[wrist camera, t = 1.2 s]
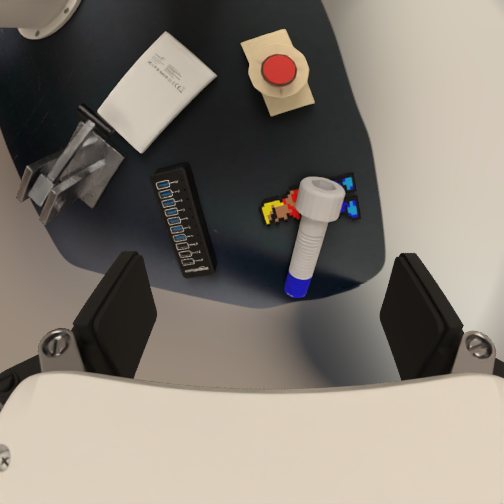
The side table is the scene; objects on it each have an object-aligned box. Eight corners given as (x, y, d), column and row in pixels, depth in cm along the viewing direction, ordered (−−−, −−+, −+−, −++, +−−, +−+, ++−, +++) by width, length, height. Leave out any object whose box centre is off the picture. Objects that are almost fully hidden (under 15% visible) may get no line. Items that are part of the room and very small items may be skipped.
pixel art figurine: (352, 172, 33) (255, 195, 36) (353, 173, 33) (255, 197, 35) (360, 217, 36) (268, 238, 38) (360, 218, 36) (268, 240, 38)
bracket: (85, 119, 31) (25, 139, 21) (128, 155, 34) (76, 186, 23) (58, 171, 35) (3, 205, 24) (96, 205, 37) (48, 248, 27)
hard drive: (102, 109, 30) (169, 32, 26) (145, 151, 33) (218, 76, 29) (95, 111, 29) (164, 30, 24) (140, 154, 32) (215, 75, 27)
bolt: (305, 192, 29) (351, 198, 29) (297, 172, 33) (339, 178, 33) (278, 303, 38) (315, 305, 39) (275, 277, 42) (309, 279, 43)
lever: (87, 106, 26) (80, 100, 24) (117, 131, 27) (112, 126, 25) (28, 187, 26) (19, 187, 24) (57, 213, 27) (49, 215, 25)
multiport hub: (188, 162, 34) (183, 167, 32) (217, 265, 41) (215, 275, 39) (155, 170, 34) (148, 175, 32) (187, 269, 41) (183, 279, 39)
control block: (237, 46, 27) (234, 42, 24) (288, 29, 25) (290, 24, 23) (266, 117, 31) (266, 119, 28) (317, 101, 30) (321, 102, 27)
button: (259, 62, 26) (258, 60, 24) (287, 53, 25) (288, 51, 23) (270, 88, 27) (270, 88, 25) (297, 79, 26) (299, 78, 25)
